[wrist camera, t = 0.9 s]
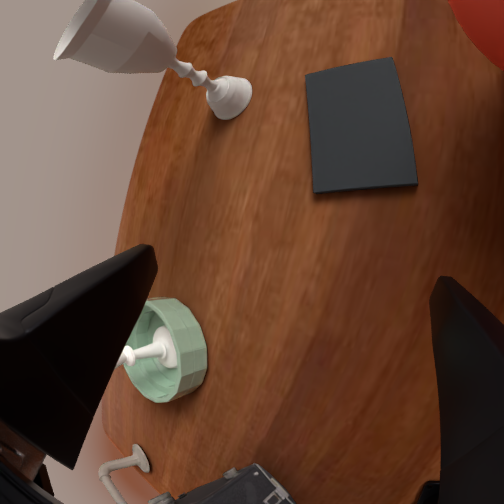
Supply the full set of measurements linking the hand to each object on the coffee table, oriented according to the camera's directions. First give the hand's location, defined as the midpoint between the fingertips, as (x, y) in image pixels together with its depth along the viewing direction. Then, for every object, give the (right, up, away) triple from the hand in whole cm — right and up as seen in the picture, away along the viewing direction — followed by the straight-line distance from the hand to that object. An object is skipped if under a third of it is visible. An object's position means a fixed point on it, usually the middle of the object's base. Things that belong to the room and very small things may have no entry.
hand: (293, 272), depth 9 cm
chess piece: (-10, -10, +23) cm, 27 cm away
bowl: (-10, -10, +23) cm, 27 cm away
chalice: (-3, +16, +19) cm, 26 cm away
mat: (+7, +11, +12) cm, 18 cm away
